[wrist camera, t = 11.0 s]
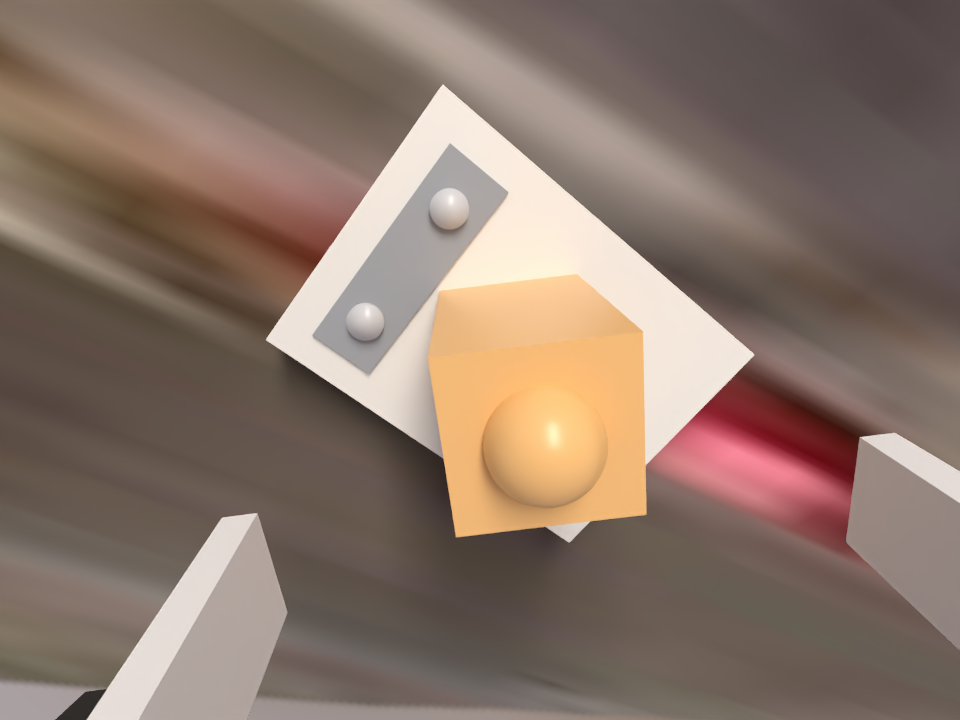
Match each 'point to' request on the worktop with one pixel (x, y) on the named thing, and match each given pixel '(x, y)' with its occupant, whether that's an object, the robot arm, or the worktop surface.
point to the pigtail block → (483, 279)
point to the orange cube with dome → (538, 405)
